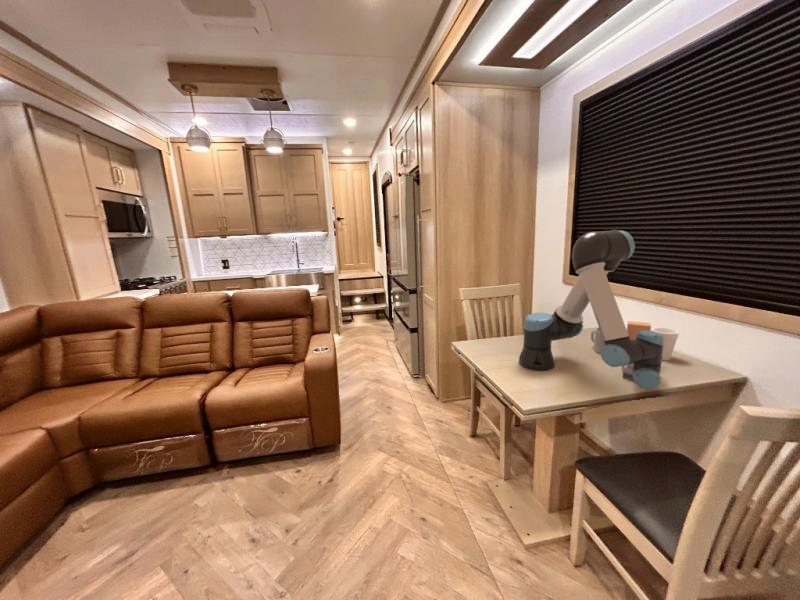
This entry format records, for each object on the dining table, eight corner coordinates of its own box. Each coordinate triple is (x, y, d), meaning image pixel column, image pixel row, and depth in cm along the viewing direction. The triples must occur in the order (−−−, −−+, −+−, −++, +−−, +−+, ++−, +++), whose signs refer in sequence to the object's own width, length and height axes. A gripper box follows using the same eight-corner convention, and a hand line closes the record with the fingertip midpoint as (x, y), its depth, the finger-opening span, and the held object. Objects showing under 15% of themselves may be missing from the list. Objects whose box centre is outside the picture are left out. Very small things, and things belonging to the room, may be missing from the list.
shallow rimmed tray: (653, 382, 125) (655, 372, 124) (622, 377, 130) (624, 367, 129) (647, 359, 145) (648, 350, 144) (621, 356, 151) (621, 347, 150)
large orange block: (646, 360, 139) (651, 326, 136) (624, 357, 144) (628, 324, 140) (645, 355, 144) (649, 322, 141) (624, 352, 148) (627, 320, 145)
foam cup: (669, 363, 141) (673, 335, 138) (645, 357, 148) (648, 330, 145) (677, 357, 146) (681, 330, 143) (653, 352, 153) (656, 326, 150)
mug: (618, 353, 154) (620, 331, 152) (604, 355, 152) (606, 334, 150) (597, 345, 165) (598, 325, 163) (583, 347, 163) (585, 327, 161)
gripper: (621, 370, 125) (620, 350, 144) (664, 377, 118) (656, 355, 137) (623, 352, 123) (621, 334, 143) (666, 358, 116) (658, 338, 136)
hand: (638, 344), depth 140 cm, fingers closed
